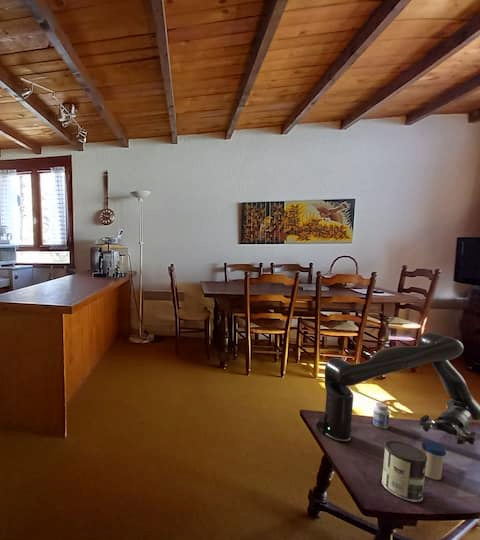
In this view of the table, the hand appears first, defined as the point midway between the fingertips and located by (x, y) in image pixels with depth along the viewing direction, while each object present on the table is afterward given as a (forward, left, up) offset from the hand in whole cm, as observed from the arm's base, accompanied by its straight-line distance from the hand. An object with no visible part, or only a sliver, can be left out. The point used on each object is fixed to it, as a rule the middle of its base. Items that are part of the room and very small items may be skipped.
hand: (441, 435), depth 112 cm
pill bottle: (-17, +17, -12) cm, 27 cm away
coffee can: (-11, -25, -12) cm, 30 cm away
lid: (-3, -9, -1) cm, 10 cm away
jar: (-3, -9, -11) cm, 15 cm away
